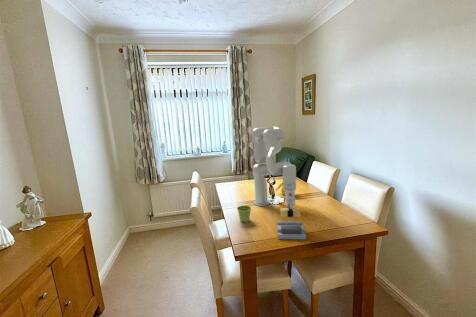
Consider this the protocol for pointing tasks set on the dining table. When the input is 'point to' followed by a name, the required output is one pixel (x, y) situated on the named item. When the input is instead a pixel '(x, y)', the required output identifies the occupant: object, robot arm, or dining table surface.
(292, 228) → the dark gray block
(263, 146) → the robot arm
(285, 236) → the slot rack
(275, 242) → the dining table surface
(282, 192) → the figure statuette
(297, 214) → the butter stick
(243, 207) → the plant pot
